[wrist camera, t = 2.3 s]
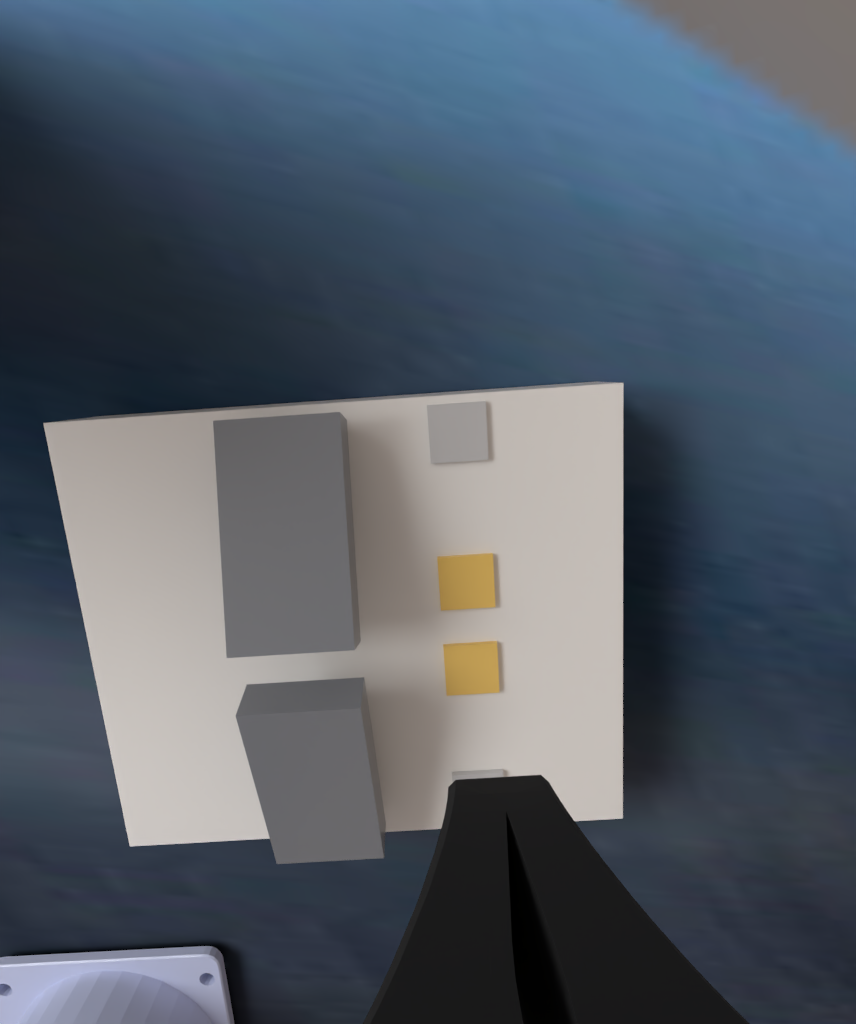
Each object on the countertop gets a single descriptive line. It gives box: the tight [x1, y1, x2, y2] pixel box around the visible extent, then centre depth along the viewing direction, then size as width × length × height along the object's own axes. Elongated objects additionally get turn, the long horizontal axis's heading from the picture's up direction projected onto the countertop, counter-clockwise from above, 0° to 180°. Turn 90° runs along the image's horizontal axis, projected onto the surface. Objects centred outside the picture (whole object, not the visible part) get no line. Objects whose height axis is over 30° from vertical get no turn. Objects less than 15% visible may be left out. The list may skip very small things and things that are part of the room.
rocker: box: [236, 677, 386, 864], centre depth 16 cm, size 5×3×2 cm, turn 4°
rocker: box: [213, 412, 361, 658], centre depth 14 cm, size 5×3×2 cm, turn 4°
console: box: [43, 382, 623, 846], centre depth 17 cm, size 12×14×3 cm
